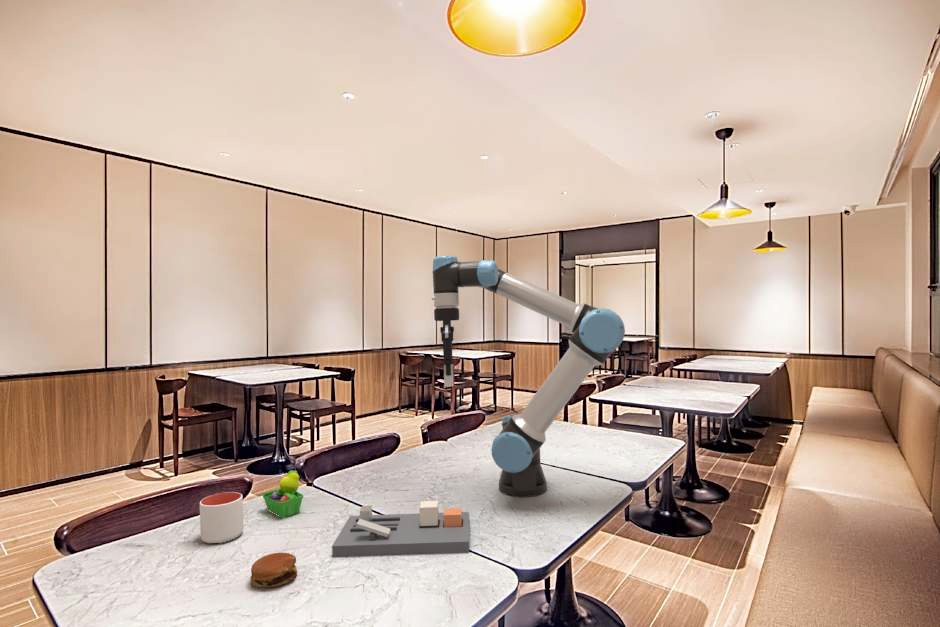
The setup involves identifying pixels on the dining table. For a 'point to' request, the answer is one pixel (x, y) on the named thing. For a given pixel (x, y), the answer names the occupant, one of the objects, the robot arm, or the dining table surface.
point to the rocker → (373, 527)
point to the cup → (221, 517)
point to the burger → (273, 570)
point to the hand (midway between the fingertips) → (449, 385)
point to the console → (401, 537)
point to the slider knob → (366, 513)
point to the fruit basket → (285, 496)
